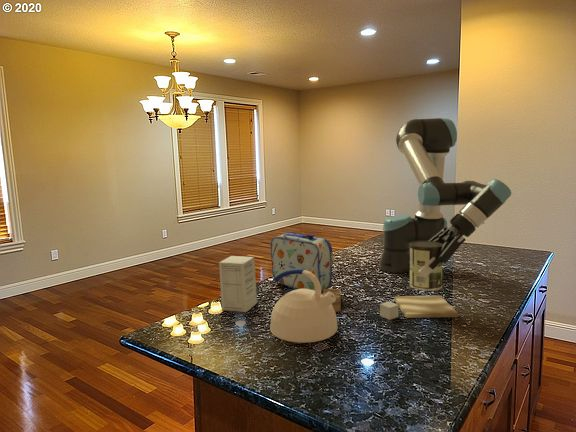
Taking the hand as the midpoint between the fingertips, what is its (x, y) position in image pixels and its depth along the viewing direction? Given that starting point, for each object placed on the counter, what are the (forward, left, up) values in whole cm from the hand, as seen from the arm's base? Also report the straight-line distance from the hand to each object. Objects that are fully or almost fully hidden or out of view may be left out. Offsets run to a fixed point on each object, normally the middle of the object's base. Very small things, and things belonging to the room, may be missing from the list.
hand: (416, 269), depth 132 cm
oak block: (-8, -27, -13) cm, 31 cm away
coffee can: (0, +3, -6) cm, 7 cm away
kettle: (+13, -37, -14) cm, 42 cm away
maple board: (-1, +3, -13) cm, 14 cm away
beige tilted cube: (+6, -10, -13) cm, 18 cm away
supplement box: (-5, -59, -13) cm, 61 cm away
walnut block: (-1, -28, -13) cm, 31 cm away
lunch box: (-24, -37, -13) cm, 46 cm away
